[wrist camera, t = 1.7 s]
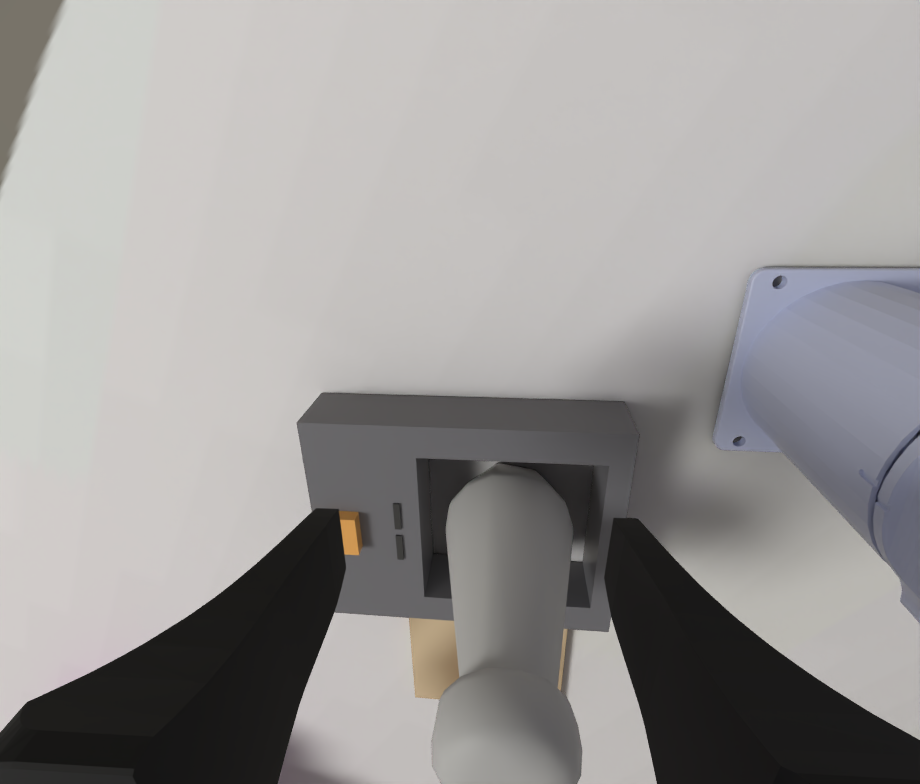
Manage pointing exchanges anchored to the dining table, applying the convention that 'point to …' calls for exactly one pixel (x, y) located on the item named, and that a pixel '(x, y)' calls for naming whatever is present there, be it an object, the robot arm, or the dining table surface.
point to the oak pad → (441, 656)
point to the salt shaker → (507, 635)
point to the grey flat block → (408, 487)
